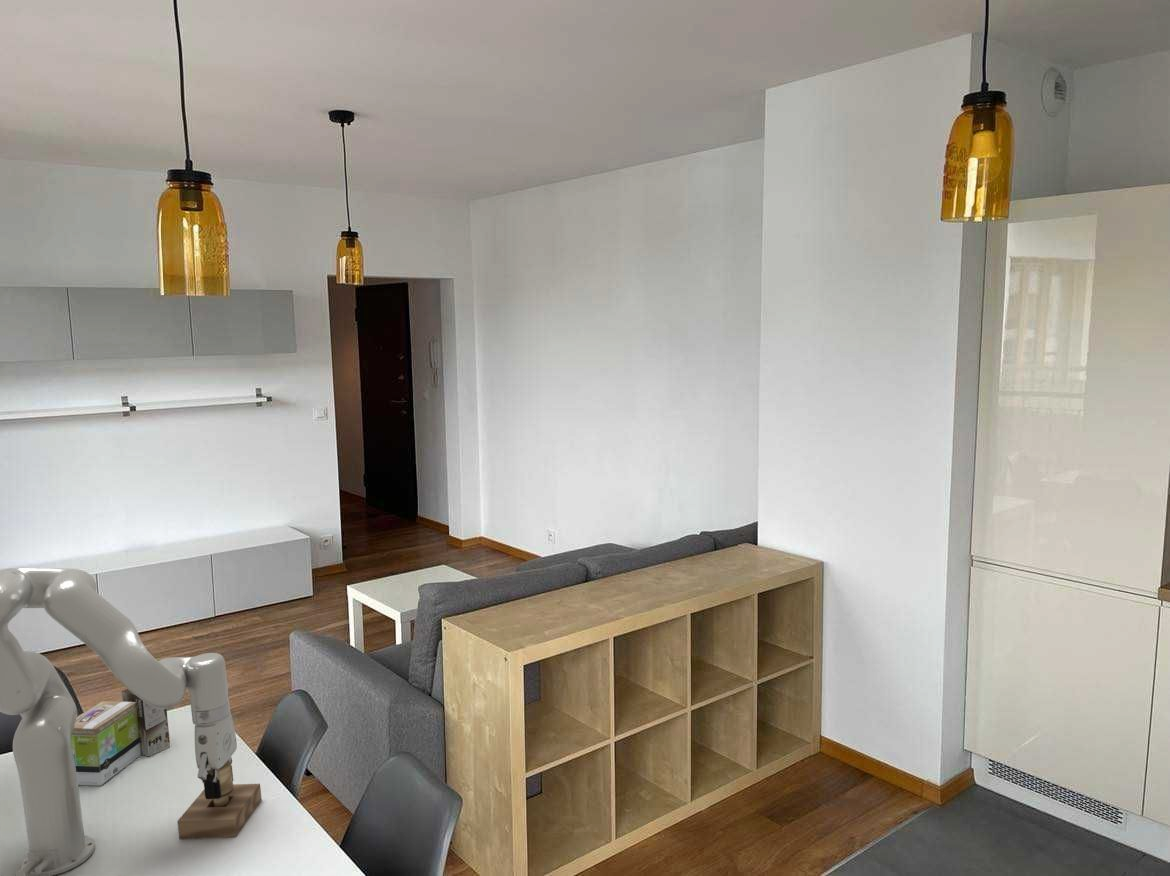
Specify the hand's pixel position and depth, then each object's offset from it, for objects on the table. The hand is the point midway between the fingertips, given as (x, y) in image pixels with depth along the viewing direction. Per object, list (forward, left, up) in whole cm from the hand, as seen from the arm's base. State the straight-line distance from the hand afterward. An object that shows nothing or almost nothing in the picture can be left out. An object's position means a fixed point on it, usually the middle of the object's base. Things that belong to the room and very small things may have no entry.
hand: (219, 789), depth 183 cm
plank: (0, 0, -7) cm, 7 cm away
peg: (0, 0, -4) cm, 4 cm away
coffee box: (+34, +34, -7) cm, 48 cm away
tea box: (+23, +40, -7) cm, 46 cm away
